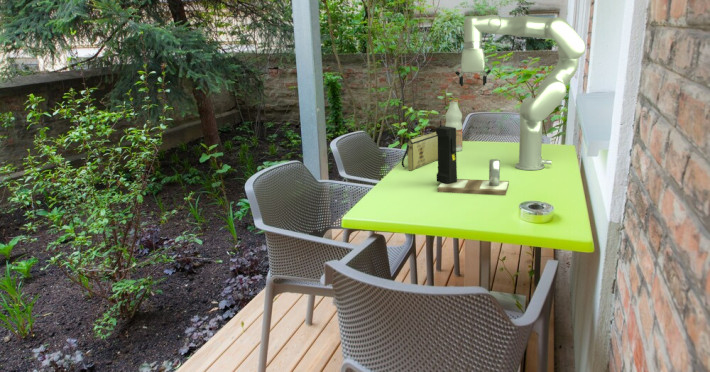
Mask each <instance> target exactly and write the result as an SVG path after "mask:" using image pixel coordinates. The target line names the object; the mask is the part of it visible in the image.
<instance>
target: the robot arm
mask: <svg viewBox="0 0 710 372" xmlns="http://www.w3.org/2000/svg"><path fill="white" fill-rule="evenodd" d="M463 23H464V24H463V25H464V26H463V29H464V30H463V32H464V33H463V34H464V35H463V37H464V39H463V40H464V41H463V42H464V43H463V44H464V45H463V46H464V47H463V50H462V52H461V59H460V60H461V63H459V64H457V65H455V66H453V68H452V70H453V72H454V73H455V74H456V75H457V76H458V78H459V82H458V83H459V85H460V87H463V86H464V74H466V73H467V74H469V73H481V74H482V75H483V76H482V86H486V84H487V82H488V78H487V76H488V75H489V74H490V73H492V70H493V68H494V65H493V64H491V63H489V62H487V61H486V58H485V57H486V55H485V54H486V53H485V49H484V48H483V47H486V42H483V34H482V33H485V34H491V35H503V36H512V37H513V36H514V37H522V38H536V39H537V38H538V39H548V40H549V39H551V40H553V41H554V42H555V43H556V45H557V54H558V62H557V64H556V66H555V67H554V69H553V70H551V72H550V73H549V74H548V75H547V76H546V78H544V80H543V81H542V82H541V83H540V84H539V86H538V88H537V95H536V96H535V97H528V98H526V99H524V100H523V101H522V103H520V106H519V146H518V147H519V151H518V162H517V163H515V165H514V166H515V169H518V170H524V171H538V170H543V169H544V168H545V165H549V166H550V165H552V159H551V160H550V159H543V158H542V145H543V144H542V143H543V141H542V140H543V121H544V120H545V119H547V118H548V116H549V115H551V113H552V112H554V110H555V109H556V108H557V107H558V106H559V104H560V103H561V102H563V100H564V98H565V97H566V95H567V85H568V84H569V82H570V81H571V79H572V78H573V77H574V76H575V74H576V73H577V71H578V68H579V62H580V61H579V59H580V58H581V57H582V56H583V55H584V54H585V51H586V44H585V41H584V40H583V39H582V37H581V36H580V35H579V34H578V33H577V31H576V30H575V28H573V26H572V25H571V24H570V23H569V22H568V21H567V20H566V19H565V18H563V17H560V16H558V17H557V16H556V17H541V16H529V15H519V16H513V17H512V16H506V17H505V16H499V15H498V14H487V15H482V16H479V15H477V16H476V15H474V16H473V15H471V16H467V17H465V18H464V22H463ZM486 67H488V70H487V71H486ZM459 68H460V69H461V70H460V71H461V72H459V70H458V69H459Z"/></svg>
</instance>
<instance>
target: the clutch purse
mask: <svg viewBox="0 0 710 372" xmlns="http://www.w3.org/2000/svg"><path fill="white" fill-rule="evenodd" d="M406 157H407V168H408V171H410V172H412V171H413V170H416V169H419V168H421V167H424V166H426V165H428V164H431V163H434V162H435V161H437V162H438V135H437V134H436V131H434V132H431V133H428V134H424V135H421V136H418V137H415V138H412V139H408V140H407V142H406V149H405V151H404V155H403V157H402V159H401V165H402V168H406V166H405V164H404V161H405V158H406Z"/></svg>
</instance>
